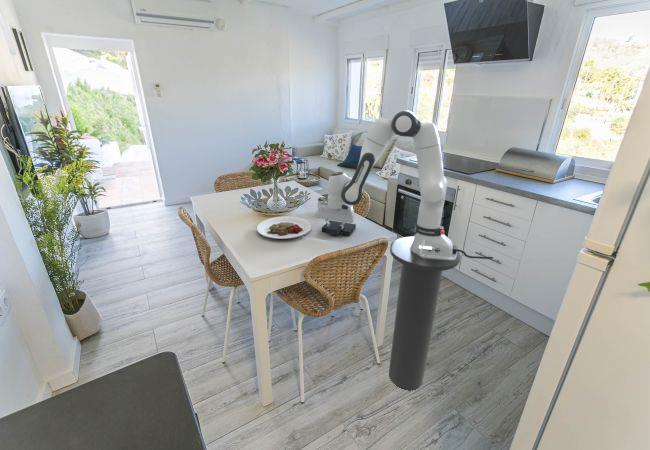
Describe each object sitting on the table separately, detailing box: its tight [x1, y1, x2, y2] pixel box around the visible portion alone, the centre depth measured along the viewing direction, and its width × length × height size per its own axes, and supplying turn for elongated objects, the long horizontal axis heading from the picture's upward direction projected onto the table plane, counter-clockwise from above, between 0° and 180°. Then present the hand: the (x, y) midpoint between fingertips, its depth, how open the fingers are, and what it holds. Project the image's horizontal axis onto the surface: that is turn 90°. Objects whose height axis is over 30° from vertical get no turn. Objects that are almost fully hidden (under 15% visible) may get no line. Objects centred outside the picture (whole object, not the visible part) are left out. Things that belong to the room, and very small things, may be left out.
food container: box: [317, 196, 328, 203], centre depth 198 cm, size 12×6×10 cm, turn 34°
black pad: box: [321, 220, 357, 237], centre depth 176 cm, size 16×12×2 cm
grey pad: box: [326, 222, 342, 235], centre depth 170 cm, size 6×10×2 cm, turn 159°
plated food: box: [256, 215, 312, 240], centre depth 174 cm, size 30×30×3 cm
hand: (335, 227), depth 170 cm, fingers closed on grey pad, 6 cm apart
